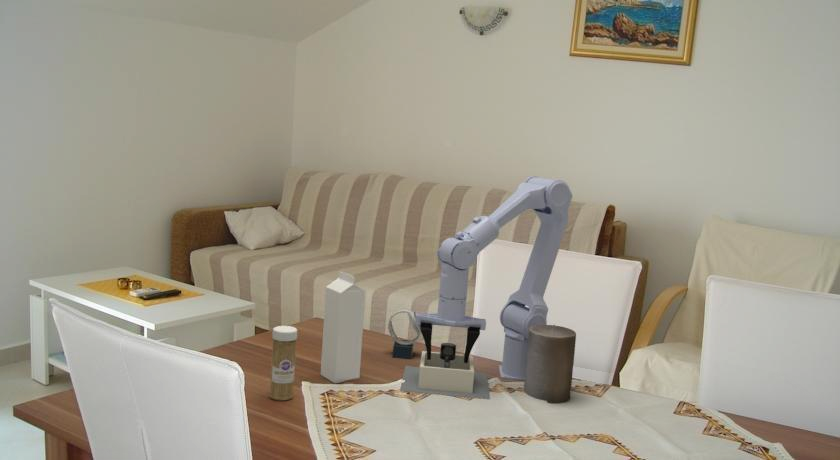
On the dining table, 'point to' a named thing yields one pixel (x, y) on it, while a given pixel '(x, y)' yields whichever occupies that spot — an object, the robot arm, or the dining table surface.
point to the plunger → (447, 353)
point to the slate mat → (412, 386)
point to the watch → (404, 347)
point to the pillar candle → (550, 362)
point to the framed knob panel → (446, 373)
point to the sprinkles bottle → (283, 362)
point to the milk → (342, 329)
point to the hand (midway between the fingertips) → (447, 360)
